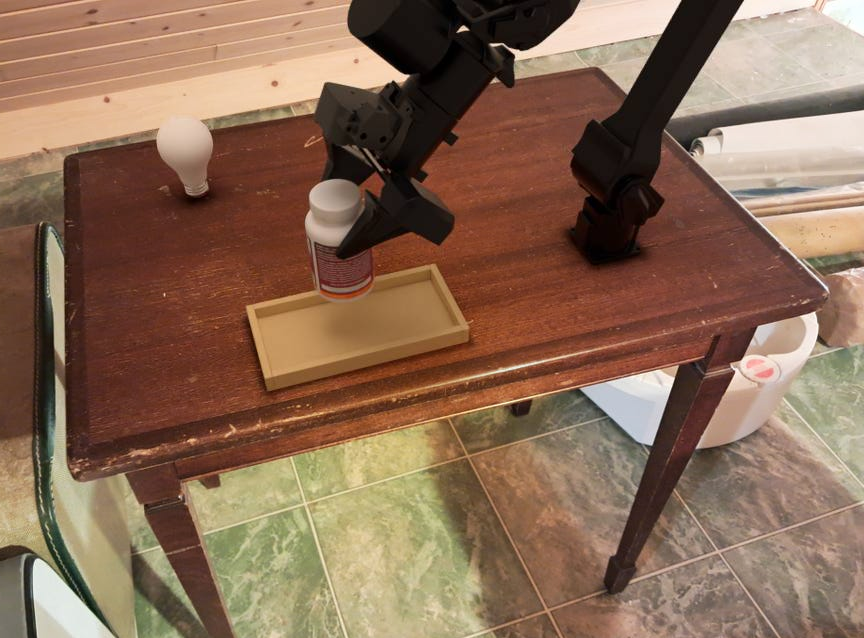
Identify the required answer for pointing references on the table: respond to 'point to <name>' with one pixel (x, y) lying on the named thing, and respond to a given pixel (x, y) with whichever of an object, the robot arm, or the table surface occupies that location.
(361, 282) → the pill bottle
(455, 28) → the robot arm
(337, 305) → the tray
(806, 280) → the table surface
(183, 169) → the light bulb
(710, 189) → the table surface
